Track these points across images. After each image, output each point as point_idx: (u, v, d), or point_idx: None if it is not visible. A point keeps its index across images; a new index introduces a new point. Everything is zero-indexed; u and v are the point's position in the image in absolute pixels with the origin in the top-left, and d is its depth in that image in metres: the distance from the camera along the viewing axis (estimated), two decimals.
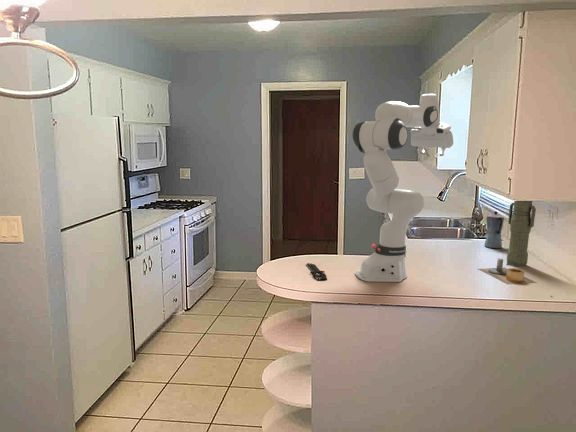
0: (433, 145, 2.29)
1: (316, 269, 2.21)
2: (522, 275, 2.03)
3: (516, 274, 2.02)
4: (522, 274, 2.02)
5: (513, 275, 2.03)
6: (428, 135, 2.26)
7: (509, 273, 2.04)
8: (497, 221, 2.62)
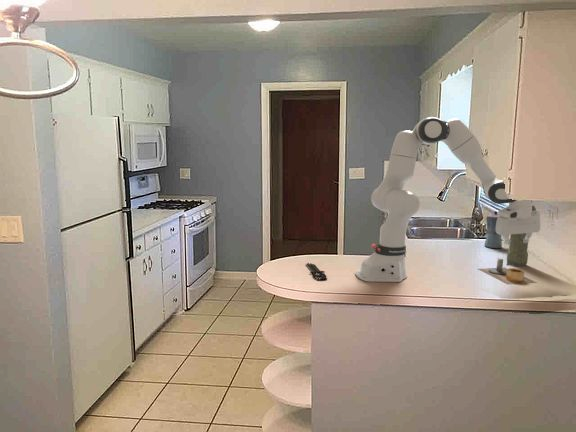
0: None
1: (316, 269, 2.21)
2: (522, 275, 2.03)
3: (516, 274, 2.02)
4: (522, 274, 2.02)
5: (513, 275, 2.03)
6: None
7: (509, 273, 2.04)
8: None
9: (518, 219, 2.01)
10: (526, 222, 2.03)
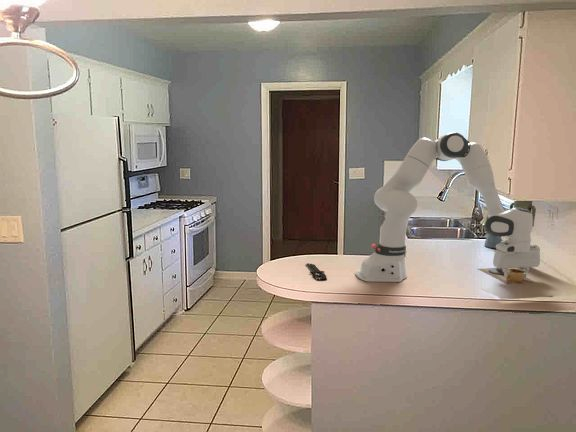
0: None
1: (316, 269, 2.21)
2: (522, 275, 2.03)
3: (516, 274, 2.02)
4: (522, 274, 2.02)
5: (513, 275, 2.03)
6: None
7: (509, 273, 2.04)
8: None
9: (516, 253, 2.01)
10: (525, 256, 2.03)
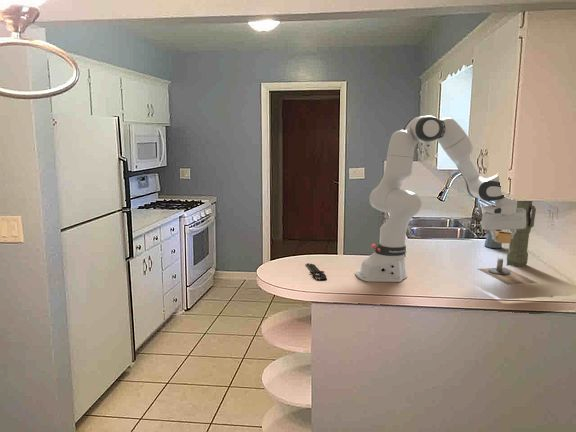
0: None
1: (316, 269, 2.20)
2: (509, 236, 2.10)
3: (503, 235, 2.10)
4: (509, 235, 2.10)
5: (500, 236, 2.11)
6: None
7: (496, 235, 2.12)
8: None
9: (503, 215, 2.09)
10: (511, 218, 2.11)
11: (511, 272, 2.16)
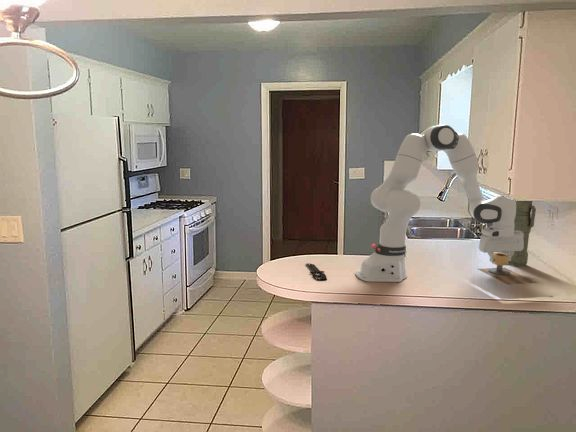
0: None
1: (316, 269, 2.20)
2: (506, 259, 2.13)
3: (501, 258, 2.12)
4: (506, 258, 2.12)
5: (498, 259, 2.13)
6: None
7: (494, 257, 2.14)
8: None
9: (501, 238, 2.11)
10: (509, 241, 2.13)
11: (511, 272, 2.16)
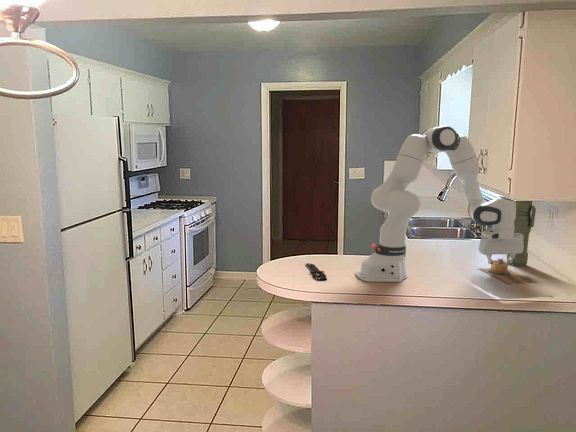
0: None
1: (316, 269, 2.20)
2: (506, 266, 2.13)
3: (500, 265, 2.13)
4: (505, 265, 2.13)
5: (497, 266, 2.14)
6: None
7: (493, 265, 2.15)
8: None
9: (500, 240, 2.11)
10: (509, 243, 2.13)
11: (511, 272, 2.16)
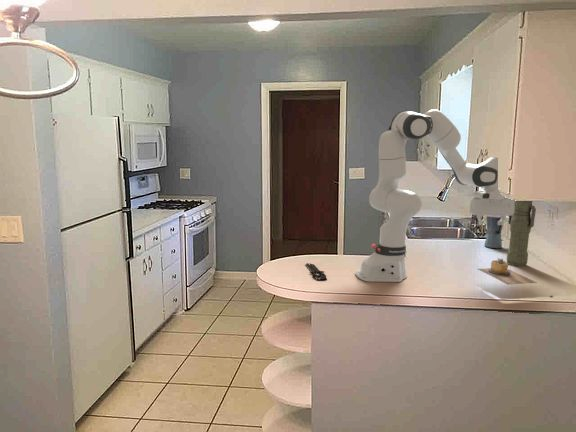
0: None
1: (316, 269, 2.20)
2: (506, 266, 2.13)
3: (500, 265, 2.13)
4: (505, 265, 2.13)
5: (497, 266, 2.14)
6: None
7: (493, 265, 2.15)
8: (497, 221, 2.62)
9: (491, 201, 2.11)
10: (500, 205, 2.13)
11: (511, 272, 2.16)
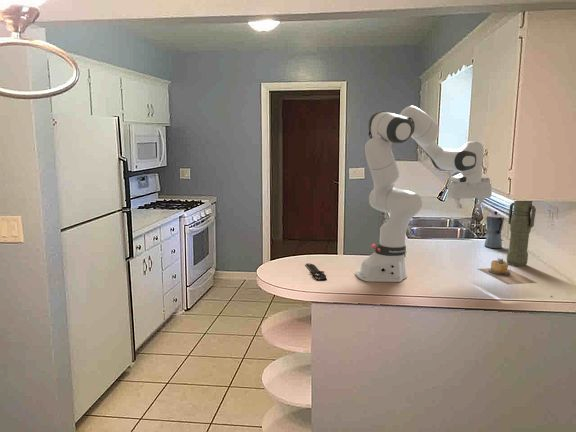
0: None
1: (315, 269, 2.20)
2: (506, 266, 2.13)
3: (500, 265, 2.13)
4: (505, 265, 2.13)
5: (497, 266, 2.14)
6: None
7: (493, 265, 2.15)
8: (497, 221, 2.62)
9: (468, 184, 2.15)
10: (477, 188, 2.17)
11: (511, 272, 2.16)
